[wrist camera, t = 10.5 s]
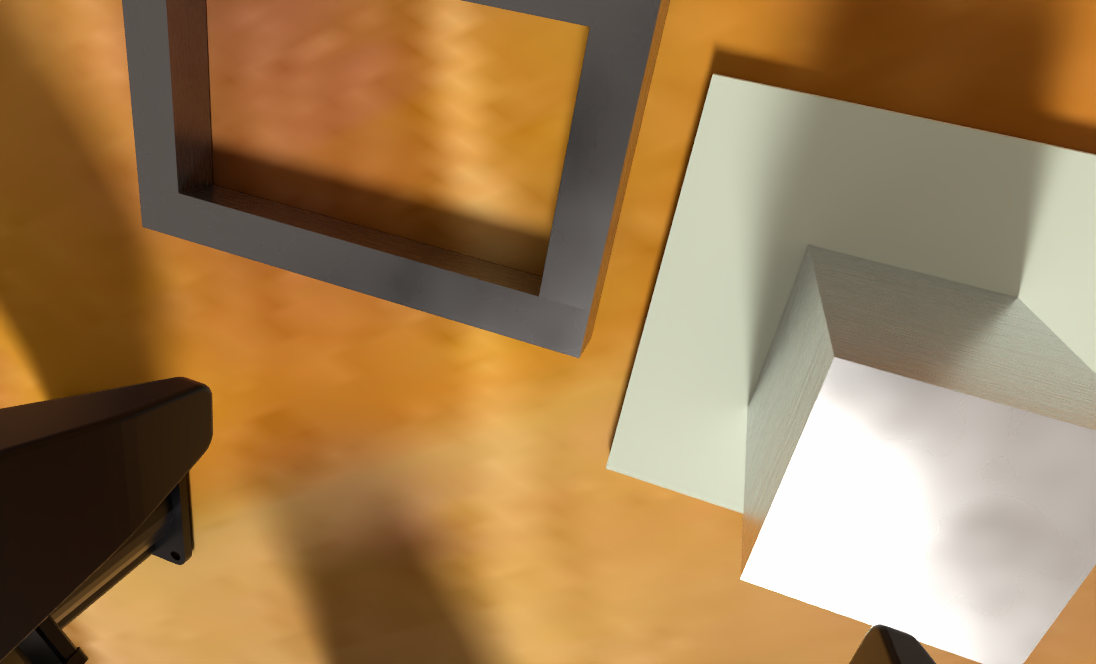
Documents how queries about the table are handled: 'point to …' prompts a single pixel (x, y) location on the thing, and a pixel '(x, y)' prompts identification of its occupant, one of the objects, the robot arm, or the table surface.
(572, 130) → the socket frame
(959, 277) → the felt pad
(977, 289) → the block
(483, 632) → the table surface
